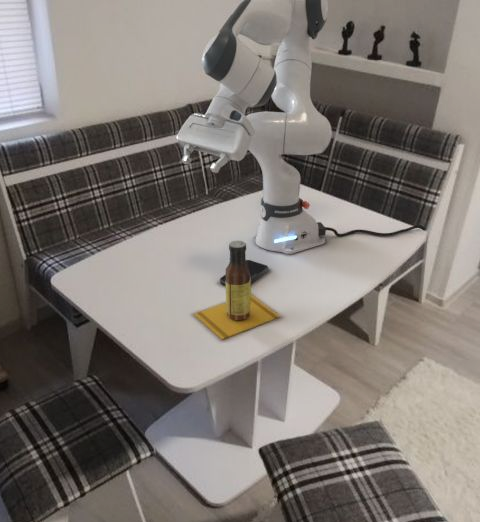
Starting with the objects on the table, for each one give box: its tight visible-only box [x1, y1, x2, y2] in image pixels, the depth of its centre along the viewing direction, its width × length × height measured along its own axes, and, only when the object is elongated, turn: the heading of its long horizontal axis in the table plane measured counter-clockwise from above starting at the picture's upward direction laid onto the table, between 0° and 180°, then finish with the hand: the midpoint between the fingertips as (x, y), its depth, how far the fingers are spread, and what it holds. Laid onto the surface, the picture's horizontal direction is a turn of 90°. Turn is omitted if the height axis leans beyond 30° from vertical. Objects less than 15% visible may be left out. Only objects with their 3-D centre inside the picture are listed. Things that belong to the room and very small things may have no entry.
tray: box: [193, 294, 281, 341], centre depth 135 cm, size 18×13×1 cm
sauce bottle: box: [225, 240, 252, 321], centre depth 128 cm, size 7×6×20 cm
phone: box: [219, 259, 269, 287], centre depth 151 cm, size 8×1×15 cm
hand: (199, 167), depth 132 cm, fingers open, 8 cm apart
